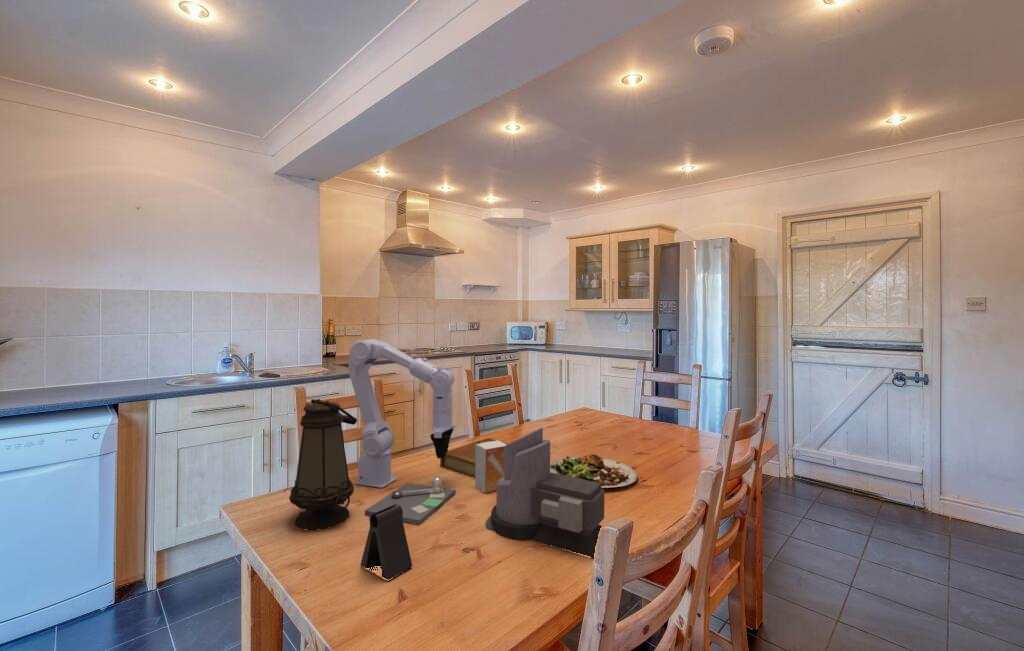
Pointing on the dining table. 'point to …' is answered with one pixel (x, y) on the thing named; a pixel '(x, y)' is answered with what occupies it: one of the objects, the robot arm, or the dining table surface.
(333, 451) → the lantern
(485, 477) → the small box
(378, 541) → the black tent sign
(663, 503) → the dining table surface
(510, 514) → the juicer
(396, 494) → the metal crank handle
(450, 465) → the diary
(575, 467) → the plate of food
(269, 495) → the dining table surface
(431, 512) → the dial board
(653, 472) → the dining table surface
